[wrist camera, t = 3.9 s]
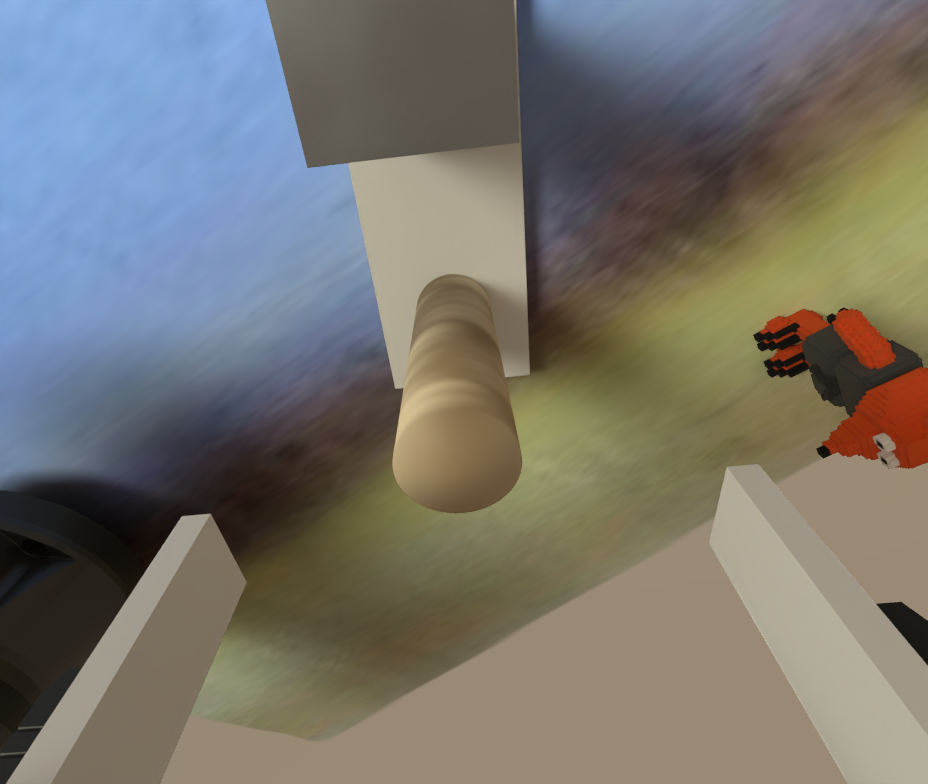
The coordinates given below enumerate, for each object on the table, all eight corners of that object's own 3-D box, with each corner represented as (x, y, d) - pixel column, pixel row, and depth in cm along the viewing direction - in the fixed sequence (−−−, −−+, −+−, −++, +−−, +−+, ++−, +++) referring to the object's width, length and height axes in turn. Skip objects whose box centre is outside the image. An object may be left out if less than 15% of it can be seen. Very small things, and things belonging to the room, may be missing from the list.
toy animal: (710, 320, 28) (864, 448, 17) (806, 268, 26) (1036, 374, 16) (750, 414, 31) (898, 566, 21) (837, 372, 30) (1041, 514, 20)
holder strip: (396, 380, 29) (395, 388, 28) (307, -57, 19) (300, -64, 18) (527, 366, 29) (529, 374, 28) (509, -84, 19) (512, -93, 18)
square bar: (380, 134, 21) (307, 167, 10) (358, 4, 19) (232, -135, 8) (482, 121, 21) (519, 142, 10) (472, -11, 19) (507, -173, 8)
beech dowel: (422, 347, 27) (404, 518, 16) (411, 278, 25) (381, 419, 14) (492, 339, 27) (524, 506, 16) (487, 269, 25) (519, 405, 14)
